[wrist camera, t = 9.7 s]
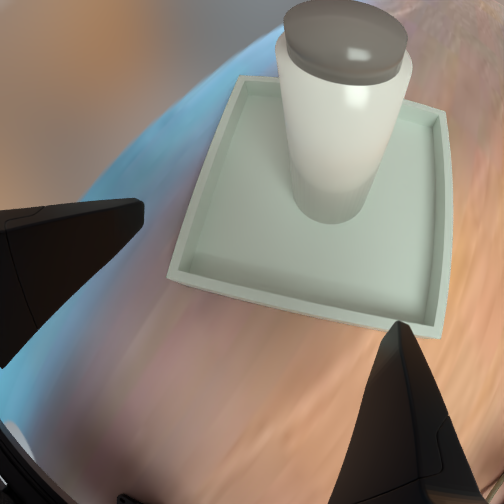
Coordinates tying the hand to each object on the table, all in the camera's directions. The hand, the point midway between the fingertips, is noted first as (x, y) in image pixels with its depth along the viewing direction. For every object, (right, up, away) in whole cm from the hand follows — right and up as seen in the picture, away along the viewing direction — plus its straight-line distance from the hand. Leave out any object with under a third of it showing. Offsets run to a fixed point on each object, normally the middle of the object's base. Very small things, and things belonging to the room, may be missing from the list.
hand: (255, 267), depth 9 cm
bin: (+5, +4, +10) cm, 12 cm away
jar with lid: (+5, +4, +10) cm, 12 cm away
